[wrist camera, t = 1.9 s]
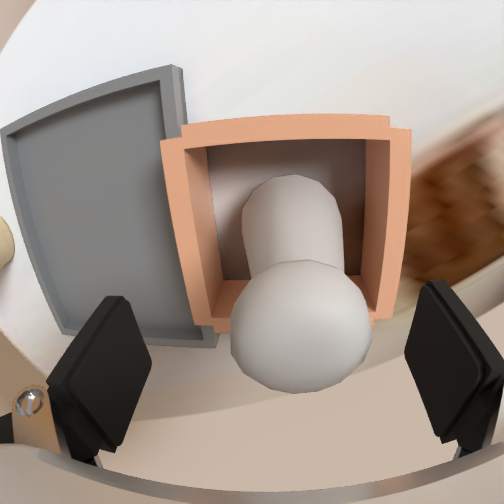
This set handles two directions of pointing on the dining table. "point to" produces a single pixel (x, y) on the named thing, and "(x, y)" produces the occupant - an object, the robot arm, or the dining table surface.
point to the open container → (287, 128)
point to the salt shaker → (297, 291)
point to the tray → (105, 204)
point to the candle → (5, 243)
